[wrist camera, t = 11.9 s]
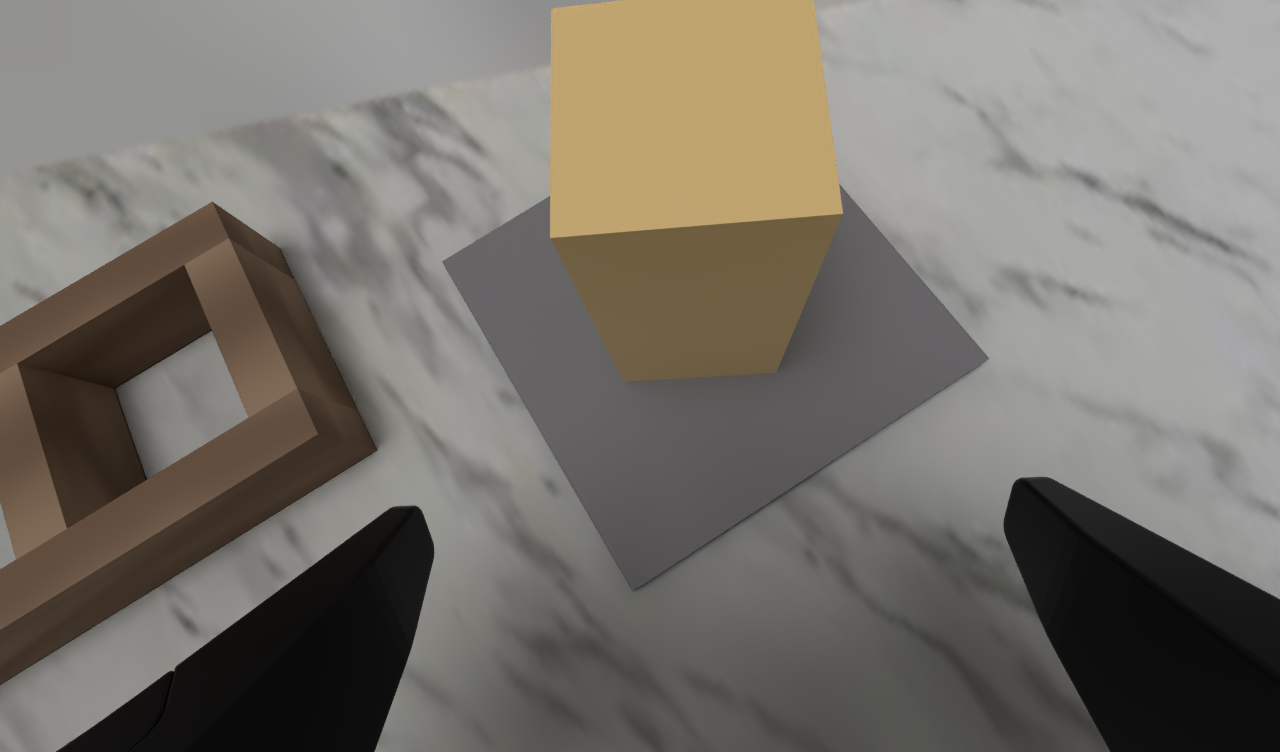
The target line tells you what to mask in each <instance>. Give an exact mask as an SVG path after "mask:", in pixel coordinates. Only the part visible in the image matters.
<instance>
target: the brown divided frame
mask: <svg viewBox="0 0 1280 752" xmlns="http://www.w3.org/2000/svg"><path fill="white" fill-rule="evenodd" d="M211 330H212V332H213V334H214V336H215V339H216V341H217V344H218V346H219V348H220V351H221V353H222V355H223V358H224V360H225V363H226V365H227V367H228V370H229V372H230V375H231V377H232V379H233V382H234V384H235V386H236V389H237V391H238V394H239V396H240V398H241V401H242V403H243V405H244V408H245V410H246V413H247V415H248V417H249V418H248V419H246V420H244V421H243V422H241V423H239V424H238V425H236V426H234V427H233V428H231V429H230V430H228V431H226V432H225V433H223V434H221V435H220V436H218V437H216V438H215V439H213V440H211V441H210V442H208V443H207V444H205V445H203V446H202V447H200V448H198V449H197V450H195V451H193V452H192V453H190V454H189V455H187V456H185V457H184V458H182V459H180V460H179V461H177V462H175V463H174V464H172V465H171V466H169V467H167V468H166V469H164V470H162V471H161V472H159V473H157V474H156V475H154V476H153V477H151V478H149V479H148V480H146V479H145V476H144V473H143V470H142V467H141V464H140V461H139V459H138V456H137V453H136V450H135V447H134V444H133V442H132V439H131V436H130V433H129V430H128V427H127V424H126V422H125V419H124V416H123V413H122V410H121V407H120V405H119V402H118V399H117V396H116V393H115V390H114V388H115V387H117V386H119V385H120V384H122V383H124V382H125V381H127V380H129V379H130V378H132V377H134V376H135V375H137V374H139V373H140V372H142V371H144V370H145V369H147V368H149V367H150V366H152V365H154V364H155V363H157V362H159V361H160V360H162V359H164V358H165V357H167V356H169V355H170V354H172V353H174V352H175V351H177V350H179V349H180V348H182V347H184V346H186V345H187V344H189V343H191V342H192V341H194V340H196V339H197V338H199V337H201V336H202V335H204V334H206V333H207V332H209V331H211ZM375 451H377V449H376V447H375V445H374V443H373V441H372V439H371V437H370V435H369V433H368V431H367V429H366V427H365V425H364V422H363V420H362V418H361V416H360V414H359V412H358V410H357V408H356V406H355V404H354V402H353V400H352V398H351V396H350V393H349V391H348V389H347V387H346V385H345V383H344V381H343V379H342V377H341V375H340V373H339V371H338V369H337V367H336V364H335V362H334V360H333V358H332V356H331V354H330V352H329V350H328V348H327V346H326V344H325V342H324V340H323V338H322V336H321V333H320V331H319V329H318V327H317V325H316V323H315V321H314V319H313V317H312V315H311V313H310V311H309V309H308V307H307V304H306V302H305V300H304V298H303V296H302V294H301V292H300V290H299V288H298V286H297V284H296V282H295V280H294V278H293V275H292V273H291V271H290V269H289V267H288V265H287V263H286V261H285V259H284V257H283V255H282V253H281V251H280V249H279V247H277V246H276V245H275V244H273V243H272V242H270V241H269V240H267V239H266V238H264V237H263V236H261V235H260V234H259V233H257V232H256V231H254V230H253V229H251V228H250V227H248V226H247V225H245V224H244V223H243V222H241V221H240V220H238V219H237V218H235V217H234V216H232V215H231V214H229V213H228V212H227V211H225V210H224V209H222V208H221V207H219V206H218V205H216V204H215V203H213V202H211V203H209V204H208V205H206V206H204V207H202V208H201V209H199V210H197V211H196V212H194V213H192V214H191V215H189V216H187V217H185V218H184V219H182V220H180V221H179V222H177V223H175V224H173V225H172V226H170V227H168V228H167V229H165V230H163V231H162V232H160V233H158V234H156V235H155V236H153V237H151V238H150V239H148V240H146V241H144V242H143V243H141V244H139V245H138V246H136V247H134V248H133V249H131V250H129V251H127V252H126V253H124V254H122V255H121V256H119V257H117V258H115V259H114V260H112V261H110V262H109V263H107V264H105V265H104V266H102V267H100V268H98V269H97V270H95V271H93V272H92V273H90V274H88V275H86V276H85V277H83V278H81V279H80V280H78V281H76V282H75V283H73V284H71V285H69V286H68V287H66V288H64V289H63V290H61V291H59V292H57V293H56V294H54V295H52V296H51V297H49V298H47V299H46V300H44V301H42V302H40V303H39V304H37V305H35V306H34V307H32V308H30V309H28V310H27V311H25V312H23V313H22V314H20V315H18V316H17V317H15V318H13V319H11V320H10V321H8V322H6V323H5V324H3V325H1V326H0V502H1V506H2V509H3V513H4V517H5V520H6V524H7V528H8V531H9V535H10V539H11V543H12V546H13V550H14V554H15V557H16V560H15V561H13V562H12V563H10V564H8V565H7V566H5V567H3V568H2V569H0V684H2V683H3V682H5V681H7V680H8V679H10V678H11V677H13V676H15V675H16V674H18V673H19V672H21V671H23V670H24V669H26V668H28V667H29V666H31V665H32V664H34V663H36V662H37V661H39V660H40V659H42V658H44V657H45V656H47V655H48V654H50V653H52V652H53V651H55V650H56V649H58V648H60V647H61V646H63V645H65V644H66V643H68V642H69V641H71V640H73V639H74V638H76V637H77V636H79V635H81V634H82V633H84V632H85V631H87V630H89V629H90V628H92V627H93V626H95V625H97V624H98V623H100V622H102V621H103V620H105V619H106V618H108V617H110V616H111V615H113V614H114V613H116V612H118V611H119V610H121V609H122V608H124V607H126V606H127V605H129V604H130V603H132V602H134V601H135V600H137V599H139V598H140V597H142V596H143V595H145V594H147V593H148V592H150V591H151V590H153V589H155V588H156V587H158V586H159V585H161V584H163V583H164V582H166V581H167V580H169V579H171V578H172V577H174V576H176V575H177V574H179V573H180V572H182V571H184V570H185V569H187V568H188V567H190V566H192V565H193V564H195V563H196V562H198V561H200V560H201V559H203V558H204V557H206V556H208V555H209V554H211V553H213V552H214V551H216V550H217V549H219V548H221V547H222V546H224V545H225V544H227V543H229V542H230V541H232V540H233V539H235V538H237V537H238V536H240V535H241V534H243V533H245V532H246V531H248V530H250V529H251V528H253V527H254V526H256V525H258V524H259V523H261V522H262V521H264V520H266V519H267V518H269V517H270V516H272V515H274V514H275V513H277V512H278V511H280V510H282V509H283V508H285V507H287V506H288V505H290V504H291V503H293V502H295V501H296V500H298V499H299V498H301V497H303V496H304V495H306V494H307V493H309V492H311V491H312V490H314V489H315V488H317V487H319V486H320V485H322V484H324V483H325V482H327V481H328V480H330V479H332V478H333V477H335V476H336V475H338V474H340V473H341V472H343V471H344V470H346V469H348V468H349V467H351V466H352V465H354V464H356V463H357V462H359V461H361V460H362V459H364V458H365V457H367V456H369V455H370V454H372V453H373V452H375Z"/></svg>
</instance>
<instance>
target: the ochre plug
mask: <svg viewBox="0 0 1280 752" xmlns="http://www.w3.org/2000/svg"><path fill="white" fill-rule="evenodd" d="M551 10H552V11H551V154H550V239H551V241H552V243H553V245H554V247H555V249H556V251H557V253H558V255H559V257H560V259H561V260H562V262H563V264H564V266H565V268H566V270H567V272H568V274H569V276H570V278H571V280H572V282H573V284H574V286H575V288H576V290H577V292H578V294H579V295H580V297H581V299H582V301H583V303H584V305H585V307H586V309H587V311H588V313H589V315H590V317H591V319H592V321H593V323H594V325H595V327H596V329H597V331H598V332H599V334H600V336H601V338H602V340H603V342H604V344H605V346H606V348H607V350H608V352H609V354H610V356H611V358H612V360H613V362H614V364H615V366H616V367H617V369H618V371H619V373H620V375H621V377H622V379H623V381H624V382H634V381H651V380H668V379H685V378H701V377H718V376H735V375H752V374H768V373H776V372H777V370H778V368H779V365H780V363H781V360H782V358H783V356H784V353H785V351H786V348H787V346H788V344H789V341H790V339H791V337H792V334H793V332H794V329H795V327H796V325H797V322H798V320H799V318H800V315H801V313H802V310H803V308H804V306H805V303H806V301H807V298H808V296H809V294H810V291H811V289H812V287H813V284H814V282H815V279H816V277H817V275H818V272H819V270H820V268H821V265H822V263H823V260H824V258H825V256H826V253H827V251H828V249H829V246H830V244H831V241H832V239H833V237H834V234H835V232H836V229H837V227H838V225H839V222H840V220H841V218H842V215H843V209H842V202H841V195H840V188H839V180H838V173H837V166H836V159H835V151H834V144H833V137H832V130H831V123H830V115H829V108H828V101H827V94H826V86H825V79H824V72H823V65H822V57H821V50H820V43H819V36H818V28H817V21H816V14H815V7H814V0H621V1H612V2H604V3H595V4H587V5H579V6H570V7H561V8H553V9H551Z"/></svg>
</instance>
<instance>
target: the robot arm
mask: <svg viewBox="0 0 1280 752" xmlns="http://www.w3.org/2000/svg"><path fill="white" fill-rule="evenodd" d="M1004 532H1005V536H1006V539H1007V541H1008V544H1009V546H1010V549H1011V551H1012V554H1013V556H1014V558H1015V561H1016V563H1017V566H1018V568H1019V570H1020V573H1021V575H1022V578H1023V580H1024V583H1025V585H1026V587H1027V590H1028V592H1029V595H1030V597H1031V599H1032V602H1033V604H1034V607H1035V609H1036V611H1037V614H1038V616H1039V619H1040V621H1041V623H1042V625H1043V628H1044V630H1045V632H1046V634H1047V636H1048V638H1049V640H1050V642H1051V644H1052V646H1053V648H1054V650H1055V651H1056V653H1057V655H1058V657H1059V659H1060V661H1061V662H1062V664H1063V666H1064V668H1065V670H1066V672H1067V673H1068V675H1069V677H1070V679H1071V681H1072V683H1073V684H1074V686H1075V688H1076V690H1077V692H1078V694H1079V695H1080V697H1081V699H1082V701H1083V703H1084V704H1085V706H1086V708H1087V710H1088V712H1089V714H1090V715H1091V717H1092V719H1093V721H1094V723H1095V725H1096V726H1097V728H1098V730H1099V732H1100V734H1101V736H1102V737H1103V739H1104V741H1105V743H1106V745H1107V747H1108V748H1109V750H1110V752H1280V599H1278V598H1277V597H1275V596H1273V595H1271V594H1269V593H1267V592H1265V591H1263V590H1261V589H1260V588H1258V587H1256V586H1254V585H1252V584H1250V583H1248V582H1246V581H1244V580H1243V579H1241V578H1239V577H1237V576H1235V575H1233V574H1231V573H1229V572H1227V571H1225V570H1224V569H1222V568H1220V567H1218V566H1216V565H1214V564H1212V563H1210V562H1208V561H1207V560H1205V559H1203V558H1201V557H1199V556H1197V555H1195V554H1193V553H1191V552H1190V551H1188V550H1186V549H1184V548H1182V547H1180V546H1178V545H1176V544H1174V543H1172V542H1171V541H1169V540H1167V539H1165V538H1163V537H1161V536H1159V535H1157V534H1155V533H1154V532H1152V531H1150V530H1148V529H1146V528H1144V527H1142V526H1140V525H1138V524H1137V523H1135V522H1133V521H1131V520H1129V519H1127V518H1125V517H1123V516H1121V515H1120V514H1118V513H1116V512H1114V511H1112V510H1110V509H1108V508H1106V507H1104V506H1102V505H1101V504H1099V503H1097V502H1095V501H1093V500H1091V499H1089V498H1087V497H1085V496H1084V495H1082V494H1080V493H1078V492H1076V491H1074V490H1072V489H1070V488H1068V487H1067V486H1065V485H1063V484H1061V483H1059V482H1057V481H1055V480H1053V479H1051V478H1048V477H1028V478H1020V479H1017V480H1016V481H1015V482H1014V484H1013V486H1012V490H1011V494H1010V498H1009V501H1008V505H1007V509H1006V513H1005V517H1004ZM433 559H434V544H433V540H432V538H431V535H430V532H429V529H428V526H427V524H426V521H425V518H424V515H423V513H422V511H421V509H420V508H419V507H417V506H396V507H392V508H390V509H388V510H387V511H386V512H384V513H383V514H381V515H380V516H379V517H377V518H376V519H375V520H373V521H372V522H371V523H369V524H368V525H367V526H365V527H364V528H363V529H361V530H360V531H358V532H357V533H356V534H354V535H353V536H352V537H350V538H349V539H348V540H346V541H345V542H344V543H342V544H341V545H340V546H338V547H337V548H336V549H334V550H333V551H331V552H330V553H329V554H327V555H326V556H325V557H323V558H322V559H321V560H319V561H318V562H317V563H315V564H314V565H313V566H311V567H310V568H308V569H307V570H306V571H304V572H303V573H302V574H300V575H299V576H298V577H296V578H295V579H294V580H292V581H291V582H290V583H288V584H287V585H285V586H284V587H283V588H281V589H280V590H279V591H277V592H276V593H275V594H273V595H272V596H271V597H269V598H268V599H267V600H265V601H264V602H262V603H261V604H260V605H258V606H257V607H256V608H254V609H253V610H252V611H250V612H249V613H248V614H246V615H245V616H244V617H242V618H241V619H239V620H238V621H237V622H235V623H234V624H233V625H231V626H230V627H229V628H227V629H226V630H225V631H223V632H222V633H221V634H219V635H218V636H216V637H215V638H214V639H212V640H211V641H210V642H208V643H207V644H206V645H204V646H203V647H202V648H200V649H199V650H198V651H196V652H195V653H193V654H192V655H191V656H189V657H188V658H187V659H185V660H184V661H183V662H181V663H180V664H179V665H177V666H176V667H175V670H174V671H169V672H168V673H166V674H165V675H164V676H162V677H161V678H160V679H158V680H157V681H156V682H154V683H153V684H151V685H150V686H149V687H147V688H146V689H145V690H143V691H142V692H141V693H139V694H138V695H136V696H135V697H134V698H132V699H131V700H130V701H128V702H127V703H125V704H124V705H123V706H121V707H120V708H118V709H117V710H116V711H114V712H113V713H111V714H110V715H109V716H107V717H106V718H104V719H103V720H102V721H100V722H99V723H97V724H96V725H95V726H93V727H92V728H90V729H89V730H87V731H86V732H84V733H83V734H81V735H80V736H79V737H77V738H76V739H74V740H73V741H71V742H70V743H68V744H67V745H65V746H64V747H62V748H61V749H59V750H58V751H56V752H374V751H375V749H376V746H377V743H378V740H379V738H380V735H381V732H382V729H383V727H384V724H385V721H386V718H387V715H388V713H389V710H390V707H391V704H392V702H393V699H394V696H395V693H396V690H397V688H398V685H399V682H400V679H401V677H402V674H403V671H404V668H405V666H406V663H407V660H408V657H409V654H410V651H411V647H412V644H413V640H414V637H415V633H416V629H417V625H418V621H419V616H420V612H421V608H422V604H423V600H424V596H425V592H426V588H427V584H428V580H429V575H430V571H431V567H432V563H433Z"/></svg>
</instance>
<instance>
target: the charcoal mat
mask: <svg viewBox="0 0 1280 752" xmlns="http://www.w3.org/2000/svg"><path fill="white" fill-rule="evenodd" d="M839 188H840V195H841V202H842V209H843V215H842V218H841V220H840V222H839V225H838V227H837V229H836V232H835V234H834V237H833V239H832V241H831V244H830V246H829V249H828V251H827V253H826V256H825V258H824V260H823V263H822V265H821V268H820V270H819V272H818V275H817V277H816V279H815V282H814V284H813V287H812V289H811V291H810V294H809V296H808V298H807V301H806V303H805V306H804V308H803V310H802V313H801V315H800V318H799V320H798V322H797V325H796V327H795V329H794V332H793V334H792V337H791V339H790V341H789V344H788V346H787V348H786V351H785V353H784V356H783V358H782V360H781V363H780V365H779V368H778V370H777V372H776V373H768V374H752V375H735V376H718V377H701V378H685V379H668V380H651V381H634V382H624V381H623V379H622V377H621V375H620V373H619V371H618V369H617V367H616V366H615V364H614V362H613V360H612V358H611V356H610V354H609V352H608V350H607V348H606V346H605V344H604V342H603V340H602V338H601V336H600V334H599V332H598V331H597V329H596V327H595V325H594V323H593V321H592V319H591V317H590V315H589V313H588V311H587V309H586V307H585V305H584V303H583V301H582V299H581V297H580V295H579V294H578V292H577V290H576V288H575V286H574V284H573V282H572V280H571V278H570V276H569V274H568V272H567V270H566V268H565V266H564V264H563V262H562V260H561V259H560V257H559V255H558V253H557V251H556V249H555V247H554V245H553V243H552V241H551V239H550V197H548V198H546V199H545V200H543V201H541V202H540V203H538V204H536V205H535V206H533V207H531V208H530V209H528V210H526V211H525V212H523V213H521V214H520V215H518V216H517V217H515V218H513V219H512V220H510V221H508V222H507V223H505V224H503V225H502V226H500V227H498V228H497V229H495V230H493V231H492V232H490V233H488V234H487V235H485V236H484V237H482V238H480V239H479V240H477V241H475V242H474V243H472V244H470V245H469V246H467V247H465V248H464V249H462V250H460V251H459V252H457V253H456V254H454V255H452V256H451V257H449V258H447V259H446V260H444V261H442V262H443V264H444V266H445V268H446V269H447V271H448V273H449V275H450V276H451V278H452V280H453V281H454V283H455V285H456V287H457V288H458V290H459V292H460V294H461V295H462V297H463V299H464V300H465V302H466V304H467V306H468V307H469V309H470V311H471V313H472V314H473V316H474V318H475V319H476V321H477V323H478V325H479V326H480V328H481V330H482V332H483V333H484V335H485V337H486V339H487V340H488V342H489V344H490V345H491V347H492V349H493V351H494V352H495V354H496V356H497V358H498V359H499V361H500V363H501V364H502V366H503V368H504V370H505V371H506V373H507V375H508V377H509V378H510V380H511V382H512V384H513V385H514V387H515V389H516V390H517V392H518V394H519V396H520V397H521V399H522V401H523V403H524V404H525V406H526V408H527V409H528V411H529V413H530V415H531V416H532V418H533V420H534V422H535V423H536V425H537V427H538V428H539V430H540V432H541V434H542V435H543V437H544V439H545V441H546V442H547V444H548V446H549V448H550V449H551V451H552V453H553V454H554V456H555V458H556V460H557V461H558V463H559V465H560V467H561V468H562V470H563V472H564V473H565V475H566V477H567V479H568V480H569V482H570V484H571V486H572V487H573V489H574V491H575V493H576V494H577V496H578V498H579V499H580V501H581V503H582V505H583V506H584V508H585V510H586V512H587V513H588V515H589V517H590V518H591V520H592V522H593V524H594V525H595V527H596V529H597V531H598V532H599V534H600V536H601V537H602V539H603V541H604V543H605V544H606V546H607V548H608V550H609V551H610V553H611V555H612V557H613V558H614V560H615V562H616V563H617V565H618V567H619V569H620V570H621V572H622V574H623V576H624V577H625V579H626V581H627V582H628V584H629V586H630V588H631V589H632V591H634V590H636V589H637V588H639V587H640V586H642V585H643V584H645V583H646V582H648V581H650V580H651V579H653V578H654V577H656V576H657V575H659V574H660V573H662V572H663V571H665V570H666V569H668V568H669V567H671V566H672V565H674V564H676V563H677V562H679V561H680V560H682V559H683V558H685V557H686V556H688V555H689V554H691V553H692V552H694V551H695V550H697V549H699V548H700V547H702V546H703V545H705V544H706V543H708V542H709V541H711V540H712V539H714V538H715V537H717V536H718V535H720V534H721V533H723V532H725V531H726V530H728V529H729V528H731V527H732V526H734V525H735V524H737V523H738V522H740V521H741V520H743V519H744V518H746V517H748V516H749V515H751V514H752V513H754V512H755V511H757V510H758V509H760V508H761V507H763V506H764V505H766V504H767V503H769V502H770V501H772V500H774V499H775V498H777V497H778V496H780V495H781V494H783V493H784V492H786V491H787V490H789V489H790V488H792V487H793V486H795V485H796V484H798V483H800V482H801V481H803V480H804V479H806V478H807V477H809V476H810V475H812V474H813V473H815V472H816V471H818V470H819V469H821V468H823V467H824V466H826V465H827V464H829V463H830V462H832V461H833V460H835V459H836V458H838V457H839V456H841V455H842V454H844V453H845V452H847V451H849V450H850V449H852V448H853V447H855V446H856V445H858V444H859V443H861V442H862V441H864V440H865V439H867V438H868V437H870V436H872V435H873V434H875V433H876V432H878V431H879V430H881V429H882V428H884V427H885V426H887V425H888V424H890V423H891V422H893V421H894V420H896V419H898V418H899V417H901V416H902V415H904V414H905V413H907V412H908V411H910V410H911V409H913V408H914V407H916V406H917V405H919V404H921V403H922V402H924V401H925V400H927V399H928V398H930V397H931V396H933V395H934V394H936V393H937V392H939V391H940V390H942V389H943V388H945V387H947V386H948V385H950V384H951V383H953V382H954V381H956V380H957V379H959V378H960V377H962V376H963V375H965V374H966V373H968V372H970V371H971V370H973V369H974V368H976V367H977V366H979V365H980V364H982V363H983V362H985V361H986V360H988V359H989V358H988V357H987V355H986V354H985V353H984V352H983V351H982V350H981V348H980V347H979V346H978V345H977V344H976V343H975V341H974V340H973V339H972V338H971V337H970V336H969V334H968V333H967V332H966V331H965V330H964V329H963V327H962V326H961V325H960V324H959V323H958V322H957V320H956V319H955V318H954V317H953V316H952V315H951V313H950V312H949V311H948V310H947V309H946V308H945V306H944V305H943V304H942V303H941V302H940V301H939V300H938V298H937V297H936V296H935V295H934V294H933V293H932V291H931V290H930V289H929V288H928V287H927V286H926V284H925V283H924V282H923V281H922V280H921V279H920V277H919V276H918V275H917V274H916V273H915V272H914V270H913V269H912V268H911V267H910V266H909V265H908V263H907V262H906V261H905V260H904V259H903V258H902V256H901V255H900V254H899V253H898V252H897V251H896V249H895V248H894V247H893V246H892V245H891V244H890V243H889V241H888V240H887V239H886V238H885V237H884V236H883V234H882V233H881V232H880V231H879V230H878V229H877V227H876V226H875V225H874V224H873V223H872V222H871V220H870V219H869V218H868V217H867V216H866V215H865V213H864V212H863V211H862V210H861V209H860V208H859V206H858V205H857V204H856V203H855V202H854V201H853V199H852V198H851V197H850V196H849V195H848V194H847V192H846V191H845V190H844V189H843V188H842V187H841V186H840V184H839Z"/></svg>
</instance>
